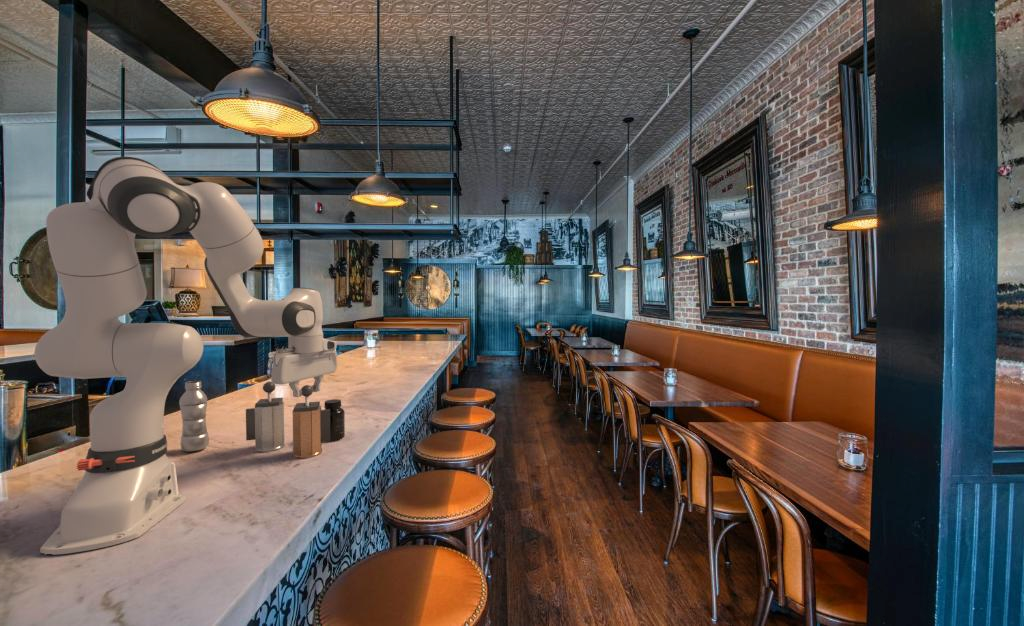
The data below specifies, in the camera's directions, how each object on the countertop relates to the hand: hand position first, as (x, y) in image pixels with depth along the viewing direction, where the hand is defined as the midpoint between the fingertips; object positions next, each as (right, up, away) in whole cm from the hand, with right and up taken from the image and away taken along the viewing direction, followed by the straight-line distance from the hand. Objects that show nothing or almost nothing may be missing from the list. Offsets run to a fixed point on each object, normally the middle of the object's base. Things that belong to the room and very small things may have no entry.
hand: (306, 394), depth 114 cm
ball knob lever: (0, -12, 0) cm, 12 cm away
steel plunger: (-13, -12, +5) cm, 19 cm away
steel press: (-15, -17, +5) cm, 23 cm away
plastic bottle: (-34, -17, +3) cm, 38 cm away
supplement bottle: (+2, -17, +13) cm, 21 cm away
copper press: (+1, -17, +1) cm, 17 cm away
